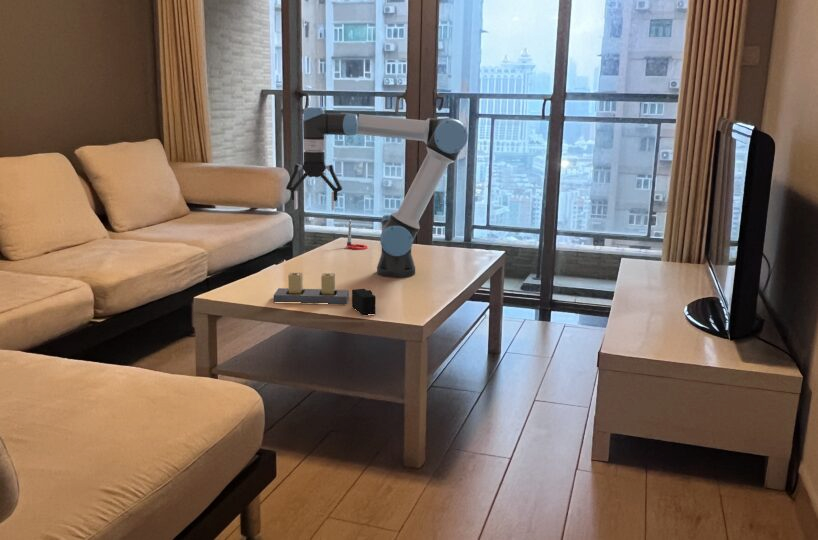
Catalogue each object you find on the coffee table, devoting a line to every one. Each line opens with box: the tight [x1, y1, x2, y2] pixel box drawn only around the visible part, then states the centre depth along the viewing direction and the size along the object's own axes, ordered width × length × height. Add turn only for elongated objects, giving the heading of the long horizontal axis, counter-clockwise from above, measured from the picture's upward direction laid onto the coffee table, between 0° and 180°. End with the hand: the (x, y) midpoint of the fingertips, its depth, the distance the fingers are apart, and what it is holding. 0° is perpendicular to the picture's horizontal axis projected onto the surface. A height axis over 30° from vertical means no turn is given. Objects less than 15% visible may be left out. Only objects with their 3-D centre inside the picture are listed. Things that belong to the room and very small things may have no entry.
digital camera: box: [351, 288, 377, 316], centre depth 246 cm, size 10×5×7 cm, turn 24°
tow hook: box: [345, 219, 368, 251], centre depth 345 cm, size 8×13×9 cm
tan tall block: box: [287, 272, 303, 294], centre depth 256 cm, size 4×4×9 cm
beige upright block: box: [320, 272, 336, 295], centre depth 256 cm, size 4×4×9 cm
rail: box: [273, 287, 350, 304], centre depth 257 cm, size 24×9×4 cm, turn 89°
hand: (314, 209), depth 281 cm, fingers open, 13 cm apart
